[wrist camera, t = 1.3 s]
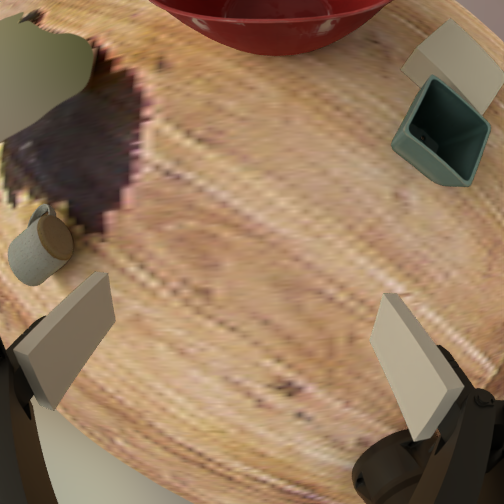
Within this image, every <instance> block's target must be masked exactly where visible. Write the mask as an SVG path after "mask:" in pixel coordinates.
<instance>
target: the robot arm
mask: <svg viewBox="0 0 504 504" xmlns="http://www.w3.org/2000/svg"><path fill="white" fill-rule="evenodd" d="M115 321H116V320H115V314H114V309H113V303H112V296H111V290H110V283H109V276H108V273H104V272H96V271H95V272H94V273H93V274H92V275H91V276H89V277H88V278H87V279H86V280H85V281H84V282H83V283H82V284H80V285H79V286H78V287H77V288H76V289H75V290H74V291H73V292H72V293H70V294H69V295H68V296H67V297H66V298H65V299H64V300H63V301H62V302H61V303H60V304H59V305H57V306H56V307H55V308H54V309H53V310H52V311H51V312H50V313H49V314H48V315H47V316H43V317H41V318H40V319H38V320H36V321H35V322H34V323H33V324H32V325H31V326H30V327H29V329H27V330H26V331H24V332H23V334H21V335H20V336H19V337H18V338H17V339H16V340H15V341H14V343H13V344H12V345H11V346H10V347H9V348H8V349H7V350H6V349H5V347H4V345H3V342H2V340H1V337H0V504H58V502H57V499H56V496H55V493H54V490H53V488H52V485H51V481H50V478H49V475H48V471H47V468H46V464H45V461H44V457H43V453H42V449H41V445H40V441H39V436H38V432H37V426H36V422H35V416H34V410H33V405H32V403H31V401H30V399H31V398H32V397H33V395H34V396H35V398H36V400H37V401H38V403H39V405H41V406H43V407H46V408H48V409H50V410H53V411H54V410H55V409H56V407H57V405H58V404H59V402H60V401H61V399H62V398H63V396H64V395H65V393H66V392H67V390H68V389H69V387H70V386H71V384H72V383H73V381H74V380H75V378H76V377H77V375H78V374H79V372H80V371H81V369H82V368H83V366H84V365H85V363H86V362H87V360H88V359H89V358H90V356H91V355H92V353H93V352H94V350H95V349H96V348H97V346H98V345H99V343H100V342H101V341H102V339H103V338H104V336H105V335H106V334H107V332H108V331H109V330H110V328H111V327H112V325H113V324H114V323H115ZM369 341H370V343H371V345H372V347H373V349H374V351H375V353H376V355H377V358H378V360H379V362H380V364H381V366H382V368H383V371H384V373H385V375H386V377H387V379H388V382H389V384H390V386H391V388H392V391H393V393H394V395H395V398H396V400H397V402H398V404H399V407H400V409H401V412H402V414H403V416H404V419H405V421H406V424H407V426H408V428H409V429H407V430H403V431H400V432H397V433H394V434H392V435H390V436H387V437H385V438H384V439H382V440H380V441H378V442H377V443H375V444H374V445H373V446H371V447H370V448H369V449H368V450H366V451H365V452H364V453H363V454H362V455H361V456H360V458H359V459H358V460H357V462H356V463H355V465H354V467H353V470H352V480H353V485H354V488H355V490H356V492H357V493H358V495H359V496H360V497H361V498H362V499H363V500H364V502H365V503H366V504H504V400H495V398H494V396H493V395H492V394H491V393H490V392H488V391H486V390H484V389H480V388H477V389H475V388H474V387H473V385H472V384H471V382H470V381H469V379H468V378H467V376H466V375H465V373H464V372H463V371H462V369H461V368H459V365H458V364H457V362H456V361H455V359H454V358H453V357H452V355H451V354H450V352H449V351H447V350H446V349H445V348H443V347H442V346H441V345H436V344H435V343H434V342H433V340H432V339H431V338H430V336H429V335H428V333H427V332H426V331H425V329H424V328H423V327H422V325H421V324H420V323H419V321H418V320H417V319H416V317H415V316H414V315H413V314H412V312H411V311H410V310H409V308H408V307H407V306H406V305H405V303H404V302H403V301H402V299H401V298H400V297H399V296H398V294H397V293H383V295H382V299H381V303H380V306H379V310H378V313H377V317H376V320H375V324H374V327H373V330H372V333H371V337H370V340H369ZM437 428H438V430H439V432H440V434H441V435H440V436H439V438H438V437H437V435H436V434H435V433H434V432H435V431H436V429H437Z"/></svg>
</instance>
